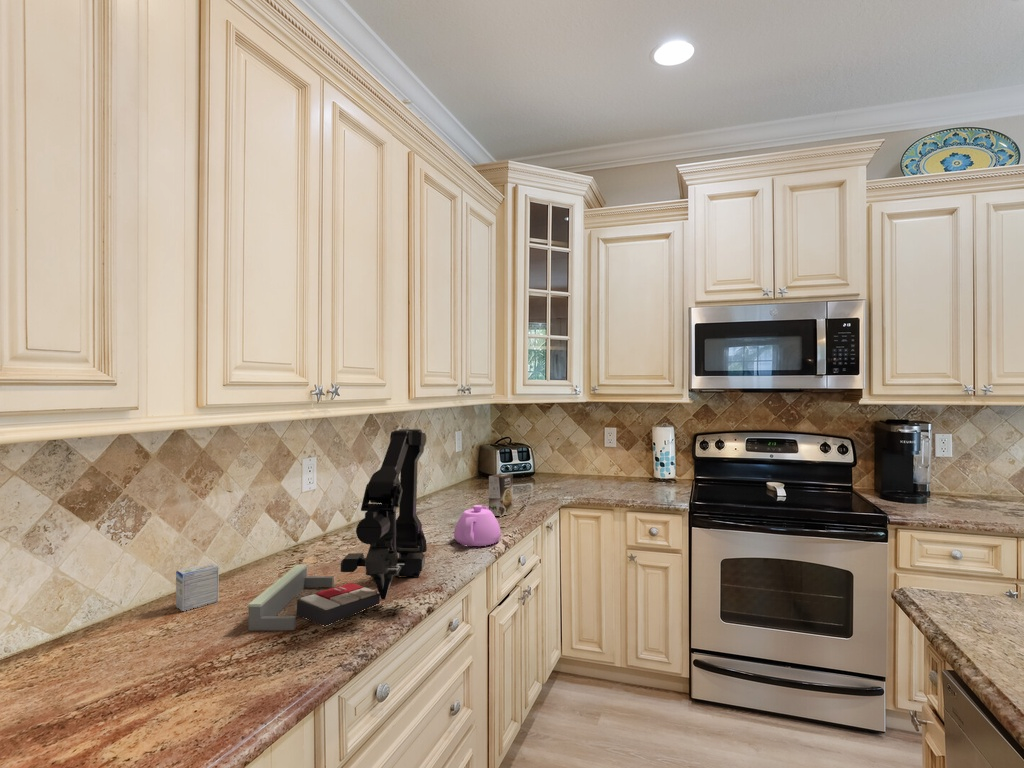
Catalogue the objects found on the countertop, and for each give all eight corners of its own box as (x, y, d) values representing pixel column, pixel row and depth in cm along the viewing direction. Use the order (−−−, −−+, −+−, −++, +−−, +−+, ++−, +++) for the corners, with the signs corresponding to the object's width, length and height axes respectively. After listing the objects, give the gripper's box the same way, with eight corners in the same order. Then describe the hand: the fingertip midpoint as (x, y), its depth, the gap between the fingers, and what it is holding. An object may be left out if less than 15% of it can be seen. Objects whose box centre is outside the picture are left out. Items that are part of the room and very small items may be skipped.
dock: (296, 586, 141) (296, 564, 141) (333, 585, 141) (333, 564, 141) (248, 630, 115) (248, 604, 115) (293, 630, 115) (293, 603, 115)
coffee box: (501, 517, 215) (501, 477, 215) (488, 516, 219) (488, 475, 219) (513, 513, 223) (513, 473, 223) (500, 511, 226) (500, 472, 227)
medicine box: (211, 597, 133) (211, 562, 133) (219, 602, 130) (219, 565, 130) (175, 607, 127) (175, 570, 127) (182, 612, 124) (182, 574, 124)
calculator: (381, 590, 129) (325, 607, 117) (380, 609, 128) (324, 628, 116) (351, 580, 135) (296, 596, 123) (350, 598, 135) (295, 615, 123)
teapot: (492, 552, 170) (491, 513, 170) (444, 549, 173) (444, 511, 173) (507, 534, 191) (507, 500, 191) (465, 532, 194) (465, 498, 194)
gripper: (332, 542, 120) (332, 613, 120) (417, 541, 120) (418, 612, 120) (347, 529, 131) (347, 594, 131) (425, 528, 131) (425, 593, 131)
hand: (383, 599), depth 128 cm, fingers closed
